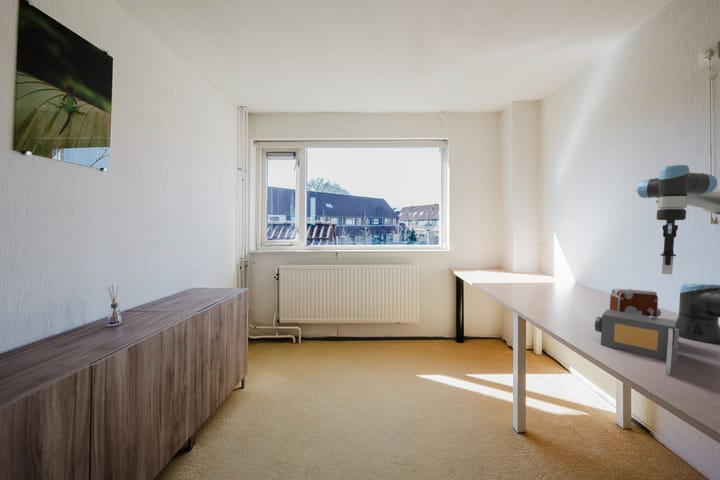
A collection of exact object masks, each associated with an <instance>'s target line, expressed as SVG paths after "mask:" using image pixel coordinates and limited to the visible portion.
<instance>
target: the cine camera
mask: <svg viewBox="0 0 720 480" xmlns="http://www.w3.org/2000/svg"><path fill="white" fill-rule="evenodd" d="M658 305H659V297H658V294H657V291H652V290H645V289H632V288H629V289H628V288H613V289H611V291H610V297H609V310H614V311H620V312H626V313H632V314H639V315H645V316H654V317H657V318H659V317H660V316H661V315H662V310H661V309H660V308H658Z"/></svg>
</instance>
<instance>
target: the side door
mask: <svg viewBox="0 0 720 480" xmlns="http://www.w3.org/2000/svg"><path fill="white" fill-rule="evenodd" d="M672 341H673V329H672V328H669V331H668V345H667V360H665V361H666V362H665V363H666V364H665V374H667V375H671V370H672V369H671V368H672V367H675V368H676V363H677V361H676V350H677V347H674V346H672Z"/></svg>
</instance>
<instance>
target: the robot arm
mask: <svg viewBox="0 0 720 480" xmlns="http://www.w3.org/2000/svg"><path fill="white" fill-rule="evenodd" d="M717 186H718V180H717V178H716V177H715V175H713V174H708V173H704V172H702V173H700V172H698V173H697V172H690V168H689V166H688V165H687V164H676V165H675V164H674V165H668V166H664V167H662V168H660V171H659V177H655V178H650V179H649V178H648V179H644V180H641V181H640V182H639V183H638V185H637V188H636V192H637V194H638V196H639V197H641V198H643V199H645V198H646V199H651V198H657V199H656V200H655V203H657V211H656V221H657V220H658V221H666V222H665V224H663V225H662V231H663V232H662V237H663V238H664V243H663V251H662V253H660V256H661V257H662V265H661V268H662V269H661V274H662V275H673V270H674V269H673V268H674V257H676V256H677V254H676V253H675V252H674V246H675V238H676V237H677V230H678V229H679V225H678V224H676V221H685V220H686V219H687V217H686V216H687V207H688V206H691V207H695V208H700V209H703V210H704V211H705V212H707V213H710V214H715V215H719V216H720V189H719V190H716V188H717ZM674 253H675V254H674ZM678 305H679V306H678V317H677V318H676V320H675V329H679V337H681V338H685V339H688V340H693V341H697V342H703V343H704V342H705V343H710V344H712V343H713V344H720V324H719V318H720V284H712V283H683V284H682V285H681V287H680V291H679V304H678Z"/></svg>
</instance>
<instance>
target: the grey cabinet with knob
mask: <svg viewBox="0 0 720 480" xmlns="http://www.w3.org/2000/svg"><path fill="white" fill-rule="evenodd" d="M675 322H676V320H674V319H669V318H664V317H663V318H662V317H654V316H645V315H639V314H632V313H626V312H620V311H614V310H610V309H606V310H605V311H604V312H603V313H602V316H596V318H595V320H594V330H595V332H597V333H601V335H600V345H601V346H605V347H608V348H612V349H613V348H614V349H616V350H617V349H618V350H622V351H625V350H626V352H630V351H631V353H634V352H636V353H635V354H639V353H640V355H643V354H645V355H644V356H647V355H649V356H648V357H652V356H654V357H653V358H656V357H657V358H656V359H660V358H661V360H665V361H666V360H667V345H668V331H669V328H672V329H673V341H672V346H674V347H677V350H676V362H677V361H678V350H679V348H678V347H679V337H680V336H679V329H675Z"/></svg>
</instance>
